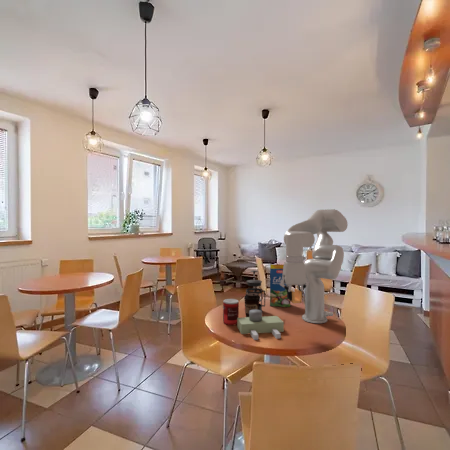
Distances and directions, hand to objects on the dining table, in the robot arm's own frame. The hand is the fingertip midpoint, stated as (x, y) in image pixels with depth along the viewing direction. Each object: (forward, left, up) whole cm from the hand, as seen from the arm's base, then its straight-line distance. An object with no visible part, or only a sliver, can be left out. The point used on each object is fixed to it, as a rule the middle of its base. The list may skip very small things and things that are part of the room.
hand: (294, 299), depth 128 cm
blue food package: (-9, -43, -16) cm, 46 cm away
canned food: (+26, -18, -16) cm, 35 cm away
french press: (+9, -35, -16) cm, 39 cm away
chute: (0, 0, -1) cm, 1 cm away
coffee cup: (+14, -22, -16) cm, 30 cm away
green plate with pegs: (+14, -3, -15) cm, 21 cm away
